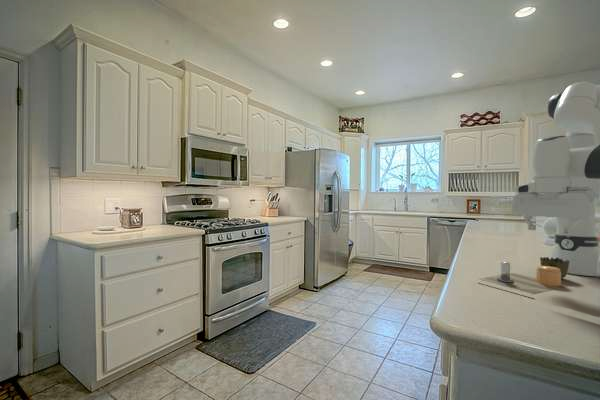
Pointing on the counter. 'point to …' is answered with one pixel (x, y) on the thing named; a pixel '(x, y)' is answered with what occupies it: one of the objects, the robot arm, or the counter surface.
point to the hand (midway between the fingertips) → (549, 231)
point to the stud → (505, 273)
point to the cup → (556, 264)
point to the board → (522, 284)
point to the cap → (548, 276)
